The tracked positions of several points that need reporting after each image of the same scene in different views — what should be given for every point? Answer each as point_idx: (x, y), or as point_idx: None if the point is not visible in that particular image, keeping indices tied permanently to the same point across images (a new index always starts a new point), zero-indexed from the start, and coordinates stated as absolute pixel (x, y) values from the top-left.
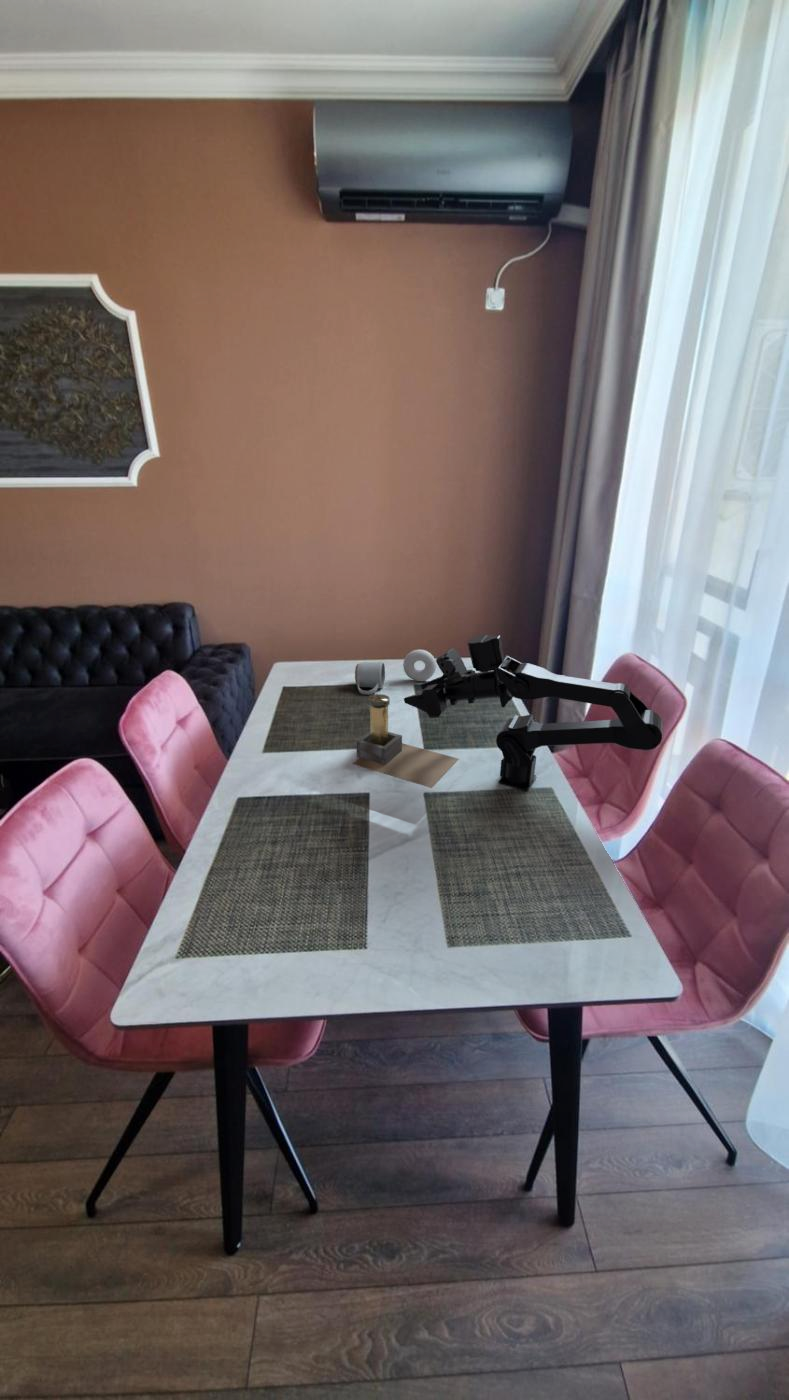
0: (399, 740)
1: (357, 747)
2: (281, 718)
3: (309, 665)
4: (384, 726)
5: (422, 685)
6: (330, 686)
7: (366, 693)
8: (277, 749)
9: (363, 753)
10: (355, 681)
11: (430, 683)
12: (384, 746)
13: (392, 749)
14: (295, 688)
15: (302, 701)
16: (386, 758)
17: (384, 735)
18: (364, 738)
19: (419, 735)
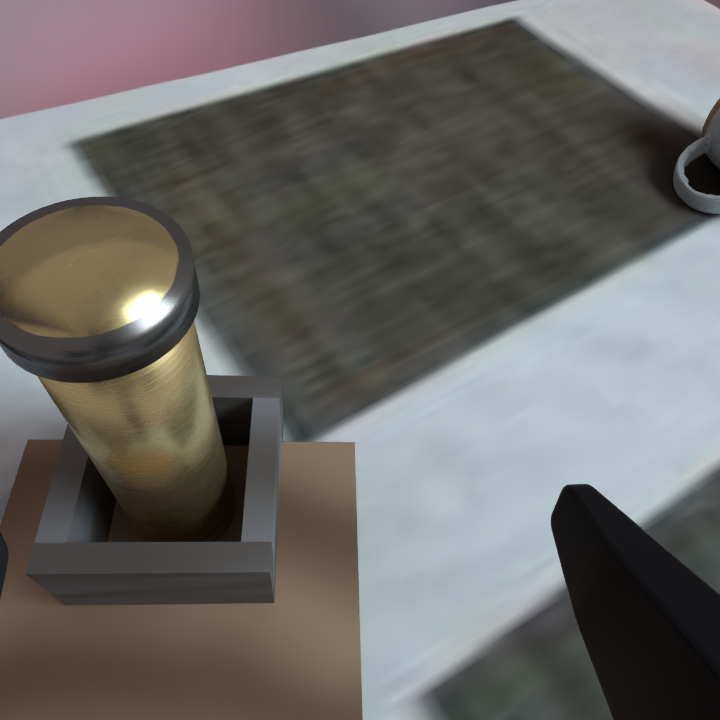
0: (233, 579)
1: None
2: (324, 89)
3: (689, 9)
4: (104, 463)
5: (569, 512)
6: (628, 97)
7: (684, 196)
8: (109, 164)
9: None
10: (703, 127)
11: (645, 624)
12: (65, 548)
13: (140, 586)
14: (530, 40)
15: (470, 84)
16: (68, 595)
17: (122, 495)
18: None
19: (548, 577)
